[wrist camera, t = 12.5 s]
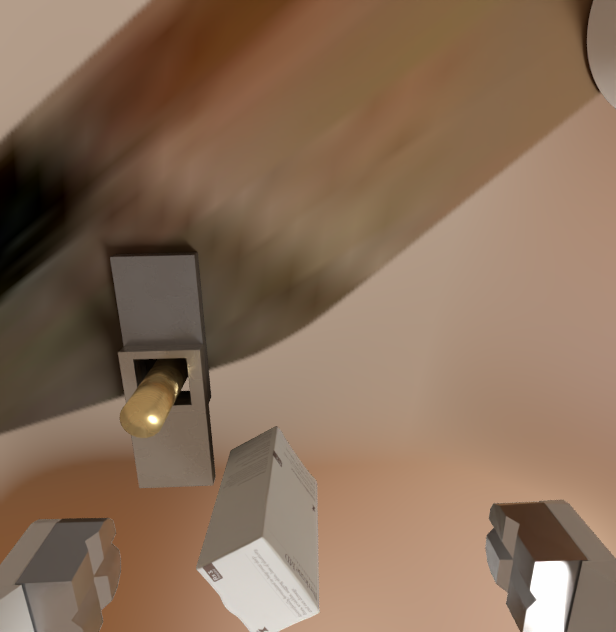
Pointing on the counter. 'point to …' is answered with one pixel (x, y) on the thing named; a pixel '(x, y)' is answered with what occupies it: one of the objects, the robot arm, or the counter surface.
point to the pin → (154, 398)
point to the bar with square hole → (166, 342)
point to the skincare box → (264, 536)
